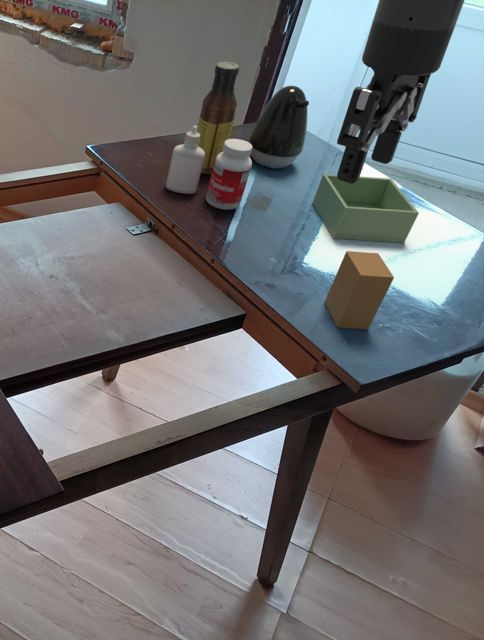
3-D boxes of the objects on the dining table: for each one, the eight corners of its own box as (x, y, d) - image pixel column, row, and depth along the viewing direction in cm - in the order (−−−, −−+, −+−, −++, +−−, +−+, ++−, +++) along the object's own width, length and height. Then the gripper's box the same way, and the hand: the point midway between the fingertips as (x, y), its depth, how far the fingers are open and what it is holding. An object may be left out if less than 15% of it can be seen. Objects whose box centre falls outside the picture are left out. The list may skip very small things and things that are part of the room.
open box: (378, 207, 125) (391, 178, 122) (404, 243, 116) (419, 212, 112) (312, 203, 125) (323, 173, 121) (332, 238, 116) (345, 207, 112)
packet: (354, 304, 102) (378, 252, 96) (368, 329, 97) (394, 277, 91) (324, 302, 102) (346, 250, 96) (336, 327, 97) (360, 275, 91)
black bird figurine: (260, 176, 132) (284, 98, 122) (235, 153, 140) (256, 77, 130) (306, 173, 135) (334, 96, 125) (279, 150, 142) (303, 76, 132)
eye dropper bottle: (185, 198, 124) (201, 135, 116) (161, 186, 127) (174, 124, 119) (200, 191, 126) (215, 128, 118) (175, 180, 129) (189, 118, 121)
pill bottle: (198, 200, 124) (212, 142, 116) (217, 191, 127) (233, 133, 120) (227, 214, 120) (244, 155, 113) (246, 204, 124) (264, 146, 116)
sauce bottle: (222, 165, 135) (249, 61, 122) (221, 179, 131) (250, 73, 118) (188, 160, 136) (212, 57, 123) (187, 174, 132) (211, 68, 119)
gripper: (423, 36, 63) (367, 199, 73) (480, 14, 71) (422, 164, 81) (346, 22, 67) (302, 177, 77) (407, 2, 75) (361, 146, 85)
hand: (364, 170), depth 79 cm, fingers open, 8 cm apart
